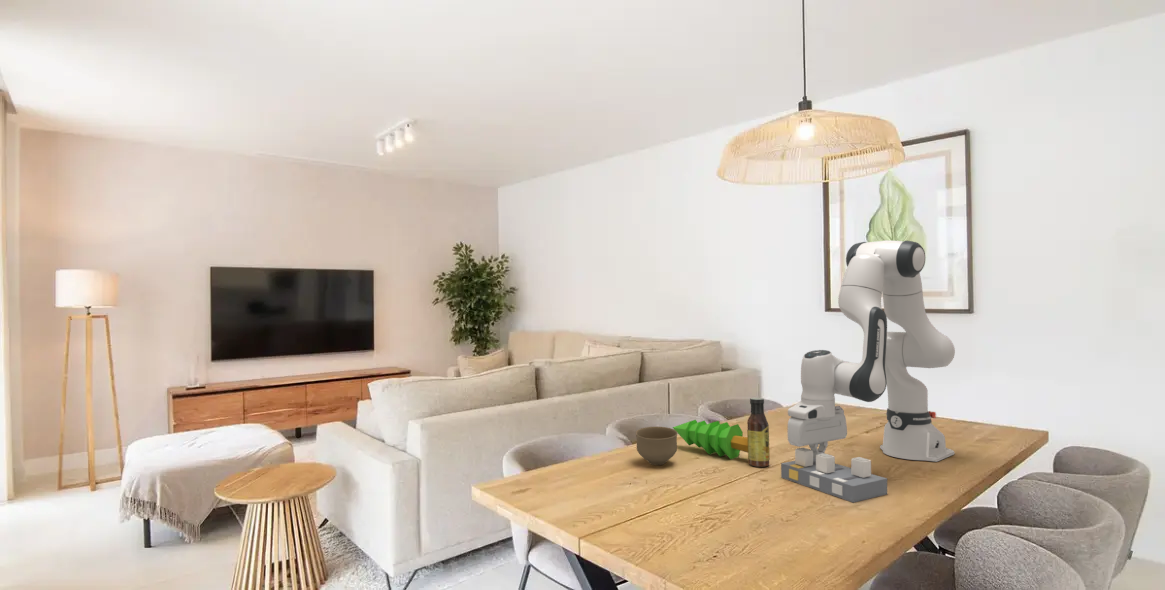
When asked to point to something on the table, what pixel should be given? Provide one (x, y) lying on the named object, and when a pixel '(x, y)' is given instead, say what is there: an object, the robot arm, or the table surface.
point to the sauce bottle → (758, 435)
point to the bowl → (656, 444)
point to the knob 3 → (861, 467)
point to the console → (835, 481)
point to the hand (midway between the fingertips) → (818, 457)
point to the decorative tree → (714, 437)
